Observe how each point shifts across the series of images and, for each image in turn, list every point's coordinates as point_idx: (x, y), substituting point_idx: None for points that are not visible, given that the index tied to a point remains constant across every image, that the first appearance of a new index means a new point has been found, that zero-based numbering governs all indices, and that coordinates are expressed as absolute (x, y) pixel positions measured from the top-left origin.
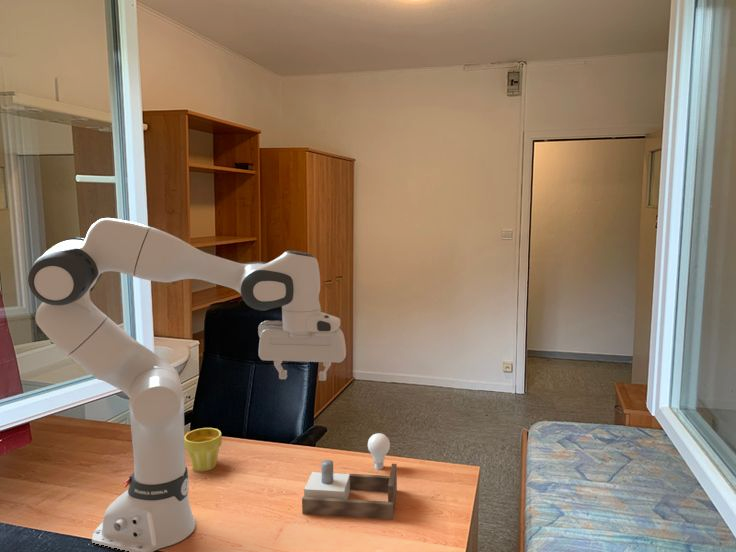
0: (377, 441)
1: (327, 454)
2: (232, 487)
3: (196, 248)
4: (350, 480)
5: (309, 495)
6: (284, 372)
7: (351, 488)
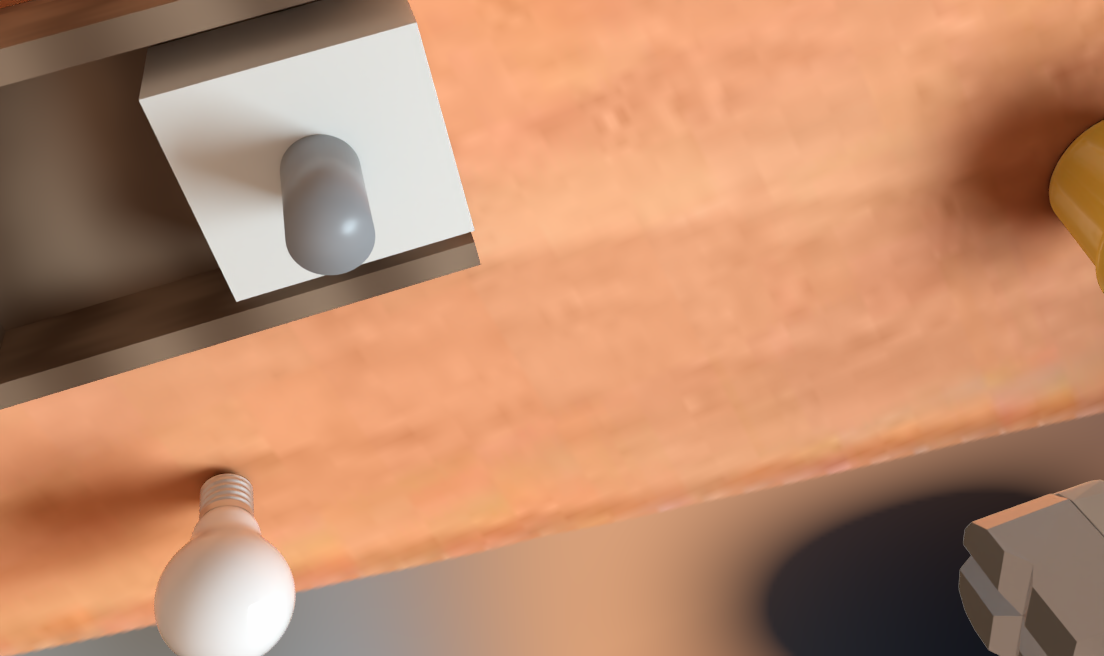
0: (206, 601)
1: (554, 495)
2: (898, 47)
3: None
4: None
5: (375, 17)
6: (1086, 636)
7: None
